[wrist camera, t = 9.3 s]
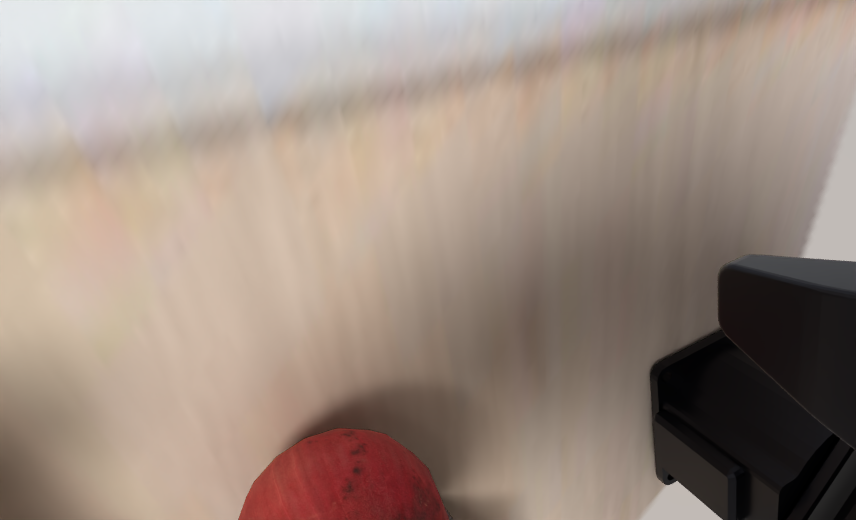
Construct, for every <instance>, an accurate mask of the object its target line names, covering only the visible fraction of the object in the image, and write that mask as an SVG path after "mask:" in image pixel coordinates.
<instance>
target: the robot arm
mask: <svg viewBox="0 0 856 520" xmlns="http://www.w3.org/2000/svg"><path fill="white" fill-rule="evenodd" d="M718 321H719V324H720V326H721V328H722V330H721V331H719V332H717V333H715V334H713V335H711V336H709V337H707V338H705V339H703V340H701V341H699V342H698V343H696V344H694V345H692V346H690V347H688V348H686V349H684V350H682V351H680V352H678V353H676V354H674V355H672V356H671V357H669V358H667V359H665V360H663V361H661V362H659V363H658V364H656V365H655V367H654V368H653V369H652V371H651V376H650V380H651V396H652V411H653V427H654V442H655V458H656V474H657V478H658V479H659V480H661V481H662V482H663V483H664V484H665V485H670V484H672V483H674V482H676V481H678V482H679V483H681V484H682V485H683V486H684V487H685V488H686V489H688V490H689V491H690V492H691V493H692V494H694V495H695V496H696V497H697V498H698V499H699V500H700V501H702V502H703V503H704V504H705V505H706V506H707V507H709V508H710V509H711V510H712V511H713V512H714V513H716V514H717V515H718V516H719V517H720V518H722V519H723V520H856V262H851V261H836V260H824V259H810V258H796V257H782V256H769V255H755V254H749V255H744V256H741V257H739V258H737V259H735V260H733V261H731V262H729V263H727V264H725V265H724V266H723V267H721V269H720V271H719V273H718Z"/></svg>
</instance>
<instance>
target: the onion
mask: <svg viewBox="0 0 856 520" xmlns="http://www.w3.org/2000/svg"><path fill="white" fill-rule="evenodd" d="M238 520H449V517H448V515H447V512H446V510H445V507H444V505H443V502H442V500H441V497H440V495H439V493H438V490H437V488H436V485H435V483H434V481H433V478H432V476H431V473H430V471H429V469H428V468H427V467H426V466H425V465H424V464H423V463H422V462H421V461H420V460H419V459H418V458H417V457H416V456H415V455H414V454H413V453H412V452H411V451H409V450H408V449H407V448H405V447H404V446H402V445H401V444H399V443H398V442H397V441H395V440H394V439H392V438H391V437H389V436H388V435H387V434H383V433H379V432H375V431H371V430H360V429H344V428H336V429H333V430H330V431H327V432H324V433H320V434H317V435H314V436H311V437H308V438H305V439H303V440H302V441H300V442H299V443H297V444H295V445H294V446H292V447H291V448H289V449H288V450H286V451H285V452H283V453H281V454H280V455H278V456H277V457H276V458H275V459H274V460H273V461H272V462H271V463H270V464H269V466H268V467H267V468H266V469H265V470H264V471H263V472H262V473H261V474H260V476H259V477H258V478H257V479H256V480H255V481H254V483H253V485H252V487H251V489H250V491H249V493H248V495H247V497H246V500H245V502H244V505H243V508H242V511H241V513H240V516H239V519H238Z"/></svg>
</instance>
